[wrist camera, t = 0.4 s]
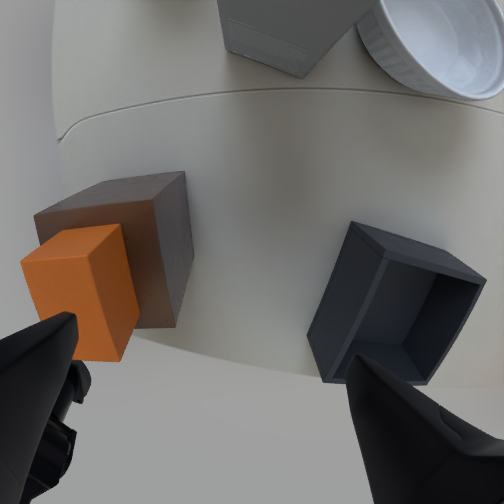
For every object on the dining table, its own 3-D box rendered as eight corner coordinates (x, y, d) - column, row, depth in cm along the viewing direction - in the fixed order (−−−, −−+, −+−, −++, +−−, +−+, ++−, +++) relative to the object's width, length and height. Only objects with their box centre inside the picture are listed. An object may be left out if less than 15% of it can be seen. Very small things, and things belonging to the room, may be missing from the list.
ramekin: (389, -48, 15) (424, -78, 9) (482, 50, 19) (529, 44, 13) (309, 22, 19) (336, -11, 12) (423, 133, 22) (475, 139, 16)
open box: (400, 346, 31) (426, 385, 25) (306, 335, 29) (322, 383, 23) (447, 251, 27) (487, 280, 21) (351, 220, 25) (385, 249, 19)
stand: (194, 256, 25) (175, 328, 16) (115, 262, 25) (66, 328, 16) (184, 170, 23) (152, 198, 13) (101, 181, 22) (32, 215, 13)
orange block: (141, 313, 16) (120, 362, 12) (85, 314, 16) (56, 359, 12) (121, 222, 14) (87, 255, 10) (61, 230, 14) (19, 261, 10)
